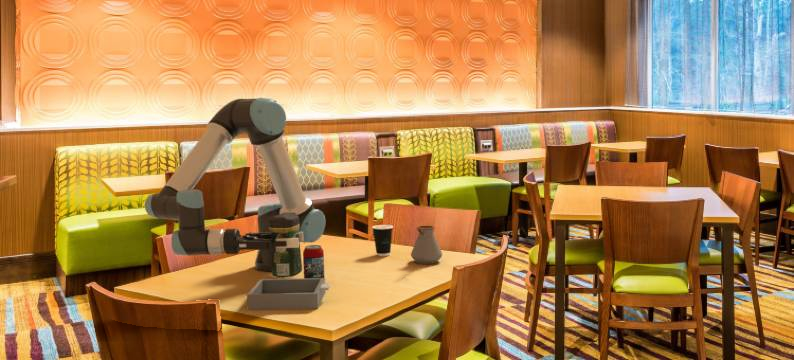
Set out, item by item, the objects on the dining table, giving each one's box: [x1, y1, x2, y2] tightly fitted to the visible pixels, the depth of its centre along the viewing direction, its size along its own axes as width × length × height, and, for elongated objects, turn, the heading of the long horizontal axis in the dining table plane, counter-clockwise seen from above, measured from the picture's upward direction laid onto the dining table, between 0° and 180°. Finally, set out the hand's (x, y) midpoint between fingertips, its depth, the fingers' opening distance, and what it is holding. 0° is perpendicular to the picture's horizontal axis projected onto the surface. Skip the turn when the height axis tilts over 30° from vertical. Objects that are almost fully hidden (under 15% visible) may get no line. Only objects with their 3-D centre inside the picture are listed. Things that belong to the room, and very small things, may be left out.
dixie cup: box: [371, 224, 394, 257], centre depth 288 cm, size 8×8×11 cm
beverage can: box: [302, 244, 326, 279], centre depth 247 cm, size 7×7×12 cm
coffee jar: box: [269, 212, 303, 279], centre depth 224 cm, size 10×8×19 cm
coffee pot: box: [410, 225, 443, 265], centre depth 269 cm, size 21×12×15 cm, turn 168°
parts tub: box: [246, 278, 331, 311], centre depth 226 cm, size 18×23×4 cm
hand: (300, 239), depth 224 cm, fingers closed on coffee jar, 8 cm apart
